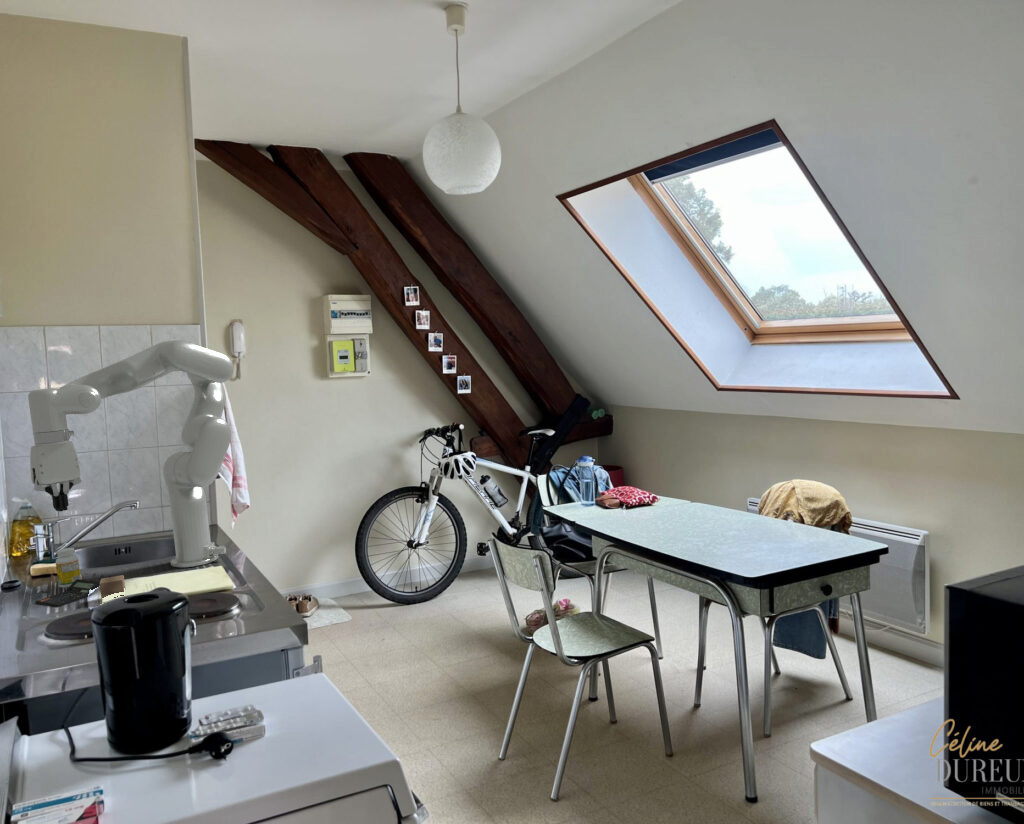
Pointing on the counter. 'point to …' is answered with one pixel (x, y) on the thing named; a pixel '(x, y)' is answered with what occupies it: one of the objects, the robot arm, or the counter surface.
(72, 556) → the supplement bottle
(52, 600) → the calculator
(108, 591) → the walnut block
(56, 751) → the counter surface
